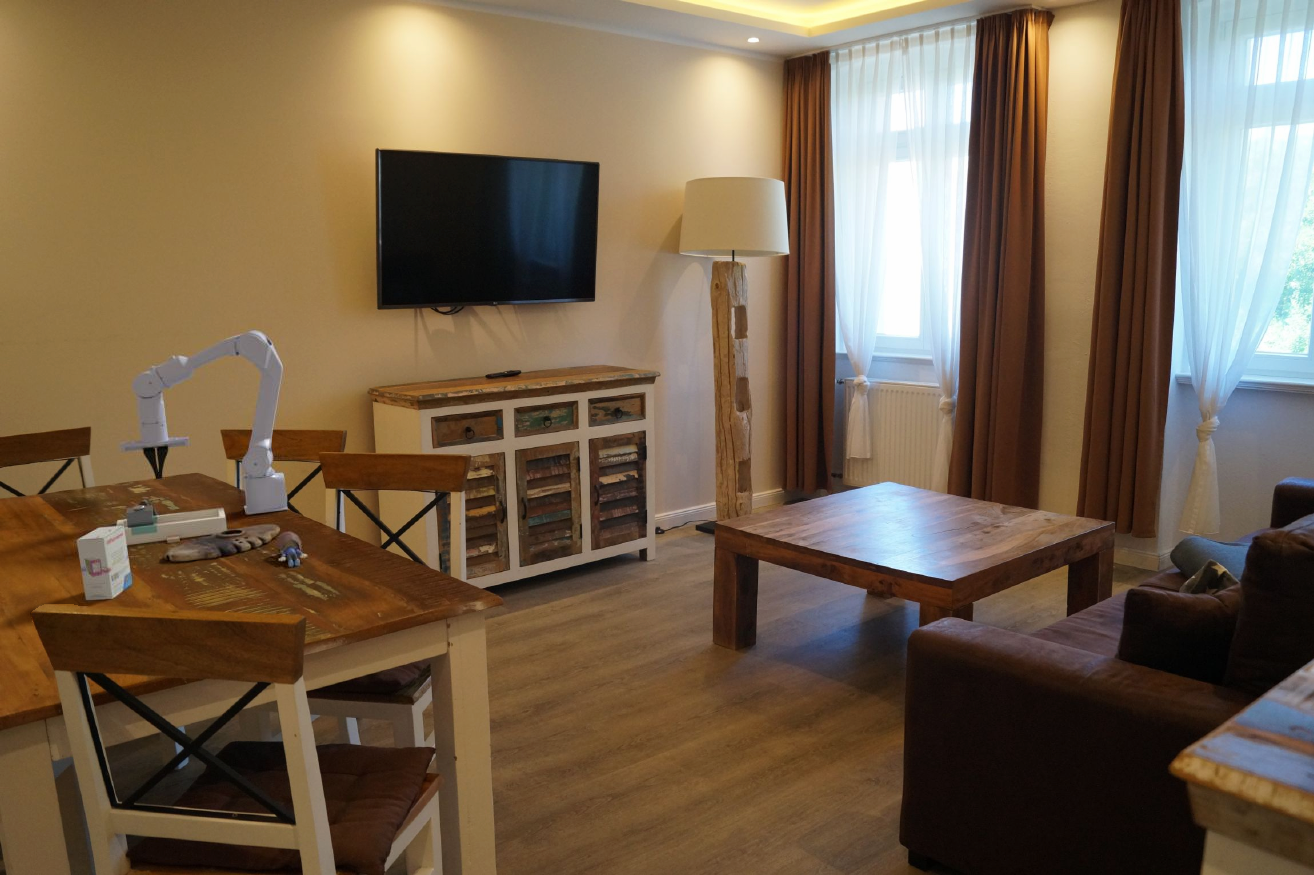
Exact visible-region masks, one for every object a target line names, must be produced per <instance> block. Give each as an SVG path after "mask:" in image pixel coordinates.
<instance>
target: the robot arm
mask: <svg viewBox="0 0 1314 875" xmlns="http://www.w3.org/2000/svg"><path fill="white" fill-rule="evenodd" d="M239 355H240V356H241V357H242V358H244V359H246V360H248V361H249V362H251V363H253V364H254V366H255V367H256V368H257V370H259V372H260V373H261V376H260V381H259V389H258V394H257V401H256V407H255V412H254V418H253V423H252V424H253V425H252V431H251V436H250V441H249V443H248V449H247V452H246V454H245V455H244V456H243V457H242V460H241V467H242V470H243V472H244V473H243V474H242V475H243V483H244V484H243V486H244V487H243V488H244V495H245V505H244V506H243V509H244V511H245V515H254V514H264V513H270V512H271V513H272V512H279V511H286V510H288V495H287V493H286V492H287V490H286V481H285V480H286V479H285V476H284V475H285V474H284V473H283V472H276V470H275V469H273V468H272V466H271V465H272V463H273V460H274V454H273V452H272V442H273V441H272V439H273V438H272V437H273V433H274V431H273V430H274V425H275V418H276V413H277V408H278V402H279V396H280V395H279V394H280V390H281V389H280V388H281V385H282V384H281V383H282V378H283V377H282V376H283V372H284V367H283V363H282V361H281V359H280V357H279V355H278V352H277V350H276V348H275V347H274V344H273V342H272V340H271V339H270V338H269V337H268V336H267V335H266V334H264V332H262V331H260V330H256V329H255V330H254V329H251V330H249V331H247V332H245V333H243V334H242V333H241V334H237V335H234V336H231V337H228V338H224V339H223V340H221V341H219V342H217V343H214V344H213V345H210V346H209V347H207V348H205V349H203V350H201V351H199V352H197V353H194V354H193V355H191V356H189V357H188V356H187V357H186V356H182V355H177V356H176V357H175V355H171V356H169V357H167V361H165V362H163V363H161V364H159V365H157V366H154V365H153V366H149V368H148V370H147V371H144V372H141V373H139V374H138V375H136V377H134V379H133V381H132V383H131V384H132V385H131V386H132V391H133V392H134V393H135V394H136V402H137V403H136V404H137V405H136V407H137V416H138V423H139V424H138V425H139V432H140V440H134V441H125V442H120V443H119V444H120V445H119V446H120V452H121V453H125V452H131V451H132V452H133V451H142V450H143V452H142V453H143V455H144V456H145V459H147V461H148V463H149V464H150V466H151V469H152V470H153V474H154V477H155V480H160V479H163V470H164V464H165V461H166V458H167V456H168V453H169V448H175V447H189V446H190V440H189V436H186V437H185V436H180V437H168V436H169V433H168V426H167V418H166V410H165V402H164V396H163V392H162V391H163V390H164V389H166V390H167V389H170V388H172V387H174V386H176V385H179V384H180V383H183V382H184V381H186V380H189V379H191V378H193V376H194V372H195V370H196V369H198V368H200V367H203V366H204V365H207V364H210V363H213V361H216V360H219V359H220V358H223V357H225V356H226V357H227V356H229V357H238V356H239Z"/></svg>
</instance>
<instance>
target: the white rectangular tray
mask: <svg viewBox="0 0 1314 875" xmlns="http://www.w3.org/2000/svg"><path fill="white" fill-rule="evenodd" d="M153 518H154V525H149V526H140V527H132V528H128V524H127V518H125V519H117V521H116V523H117V525H116V526H124V531H125V538H126V544H127V546H131V545H137V544H138V545H139V544H145V543H154V542H161V541H166V542H167V544H171V543H179V542H180V539H186V538H193V537H200V536H207V535H213V534H216V533H219V532H222V531H226V530H228V528H227V526H228V525H227V518H226V514H225V509H224V507H218V508H209V509H201V510H194V511H185V512H177V513H167V514H160V515H159V514H158V516H153Z"/></svg>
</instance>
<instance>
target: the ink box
mask: <svg viewBox="0 0 1314 875" xmlns="http://www.w3.org/2000/svg"><path fill="white" fill-rule="evenodd" d="M76 544H77V545H76V546H77V551H78V558H79V562H80V564H79V565H80V569H81V576H82V582H83V590H84V596H85V601H97V600H112V599H113V600H114V598H116V597H117V596H119V595H120V594H121V593H122V592H123V591H125V590H126V589H128V588H129V587H130V586H132V585H133V580H132V579H133V578H132V572H131V567H130V560H129V553H128V545H127V544H126V538H125V531H124V526H112V527H111V526H103V527H97V528H96V529H94V530H92V531H90V532H89V533H86V534H85V535H83V536H81V537H80V538H78V539H76Z"/></svg>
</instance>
